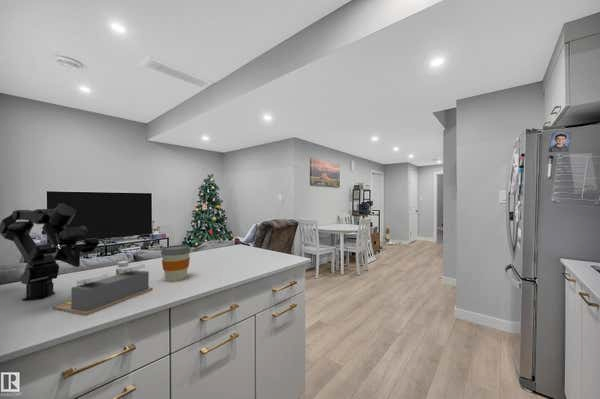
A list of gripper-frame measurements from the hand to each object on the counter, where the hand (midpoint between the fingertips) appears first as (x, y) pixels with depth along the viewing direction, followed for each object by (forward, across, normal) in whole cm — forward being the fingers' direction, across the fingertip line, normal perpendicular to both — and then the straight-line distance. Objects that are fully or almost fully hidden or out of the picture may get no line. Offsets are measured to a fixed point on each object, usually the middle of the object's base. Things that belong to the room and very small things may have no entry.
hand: (78, 265), depth 86 cm
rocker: (+9, +14, -2) cm, 17 cm away
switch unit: (+13, +7, +6) cm, 16 cm away
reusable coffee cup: (+17, +34, +3) cm, 38 cm away
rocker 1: (+9, 0, -2) cm, 10 cm away
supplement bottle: (+4, +22, +16) cm, 27 cm away
